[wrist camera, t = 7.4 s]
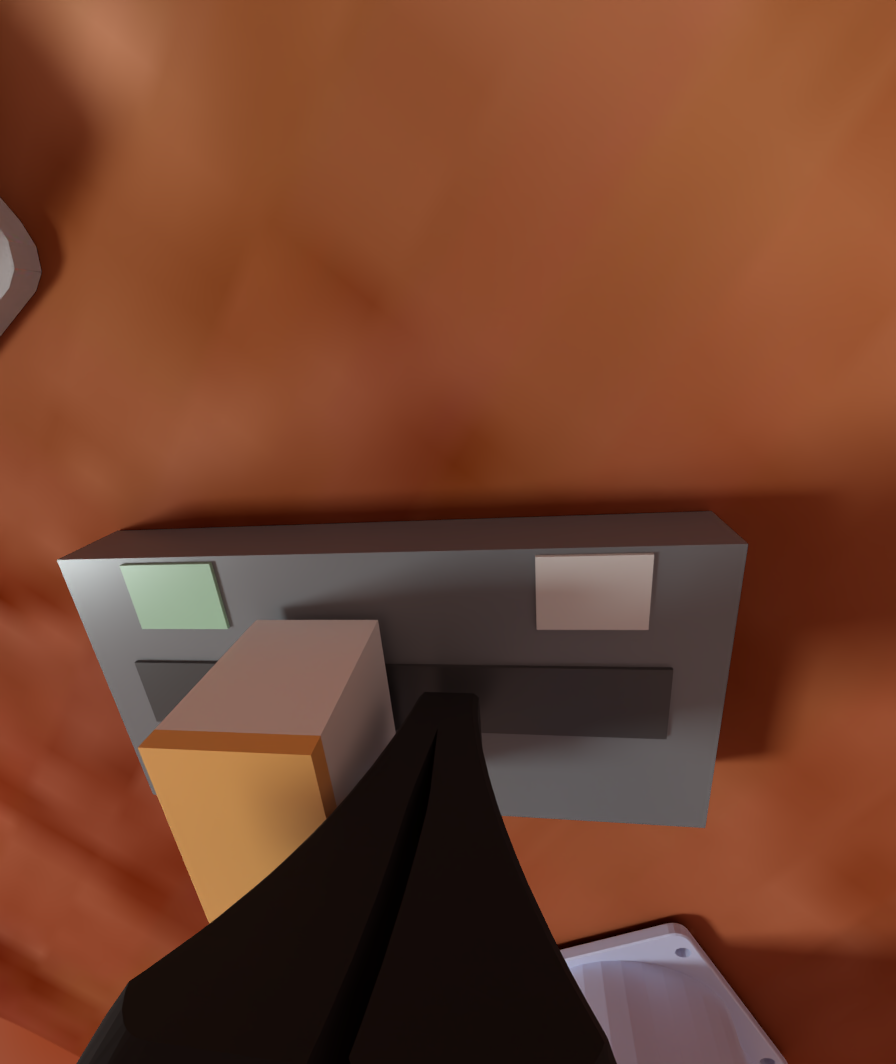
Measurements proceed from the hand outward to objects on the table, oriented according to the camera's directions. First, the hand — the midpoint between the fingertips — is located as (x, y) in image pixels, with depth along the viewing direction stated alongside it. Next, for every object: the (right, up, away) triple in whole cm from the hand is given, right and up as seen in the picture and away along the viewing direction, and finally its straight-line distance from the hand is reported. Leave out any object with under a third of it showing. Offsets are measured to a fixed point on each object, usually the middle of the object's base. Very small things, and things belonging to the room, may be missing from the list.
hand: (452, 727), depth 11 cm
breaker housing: (-1, +1, +3) cm, 3 cm away
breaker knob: (-3, 0, +1) cm, 3 cm away
